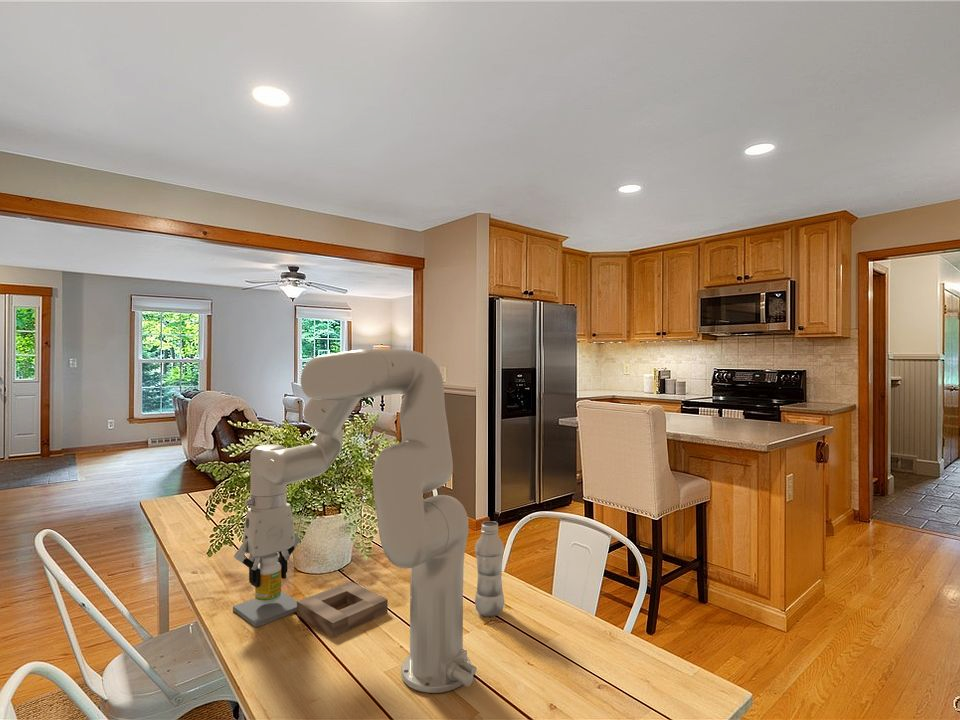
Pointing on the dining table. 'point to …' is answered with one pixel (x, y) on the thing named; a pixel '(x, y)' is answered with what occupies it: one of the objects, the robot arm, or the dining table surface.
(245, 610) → the grey pad
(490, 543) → the plastic bottle
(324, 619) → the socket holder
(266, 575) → the supplement bottle
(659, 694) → the dining table surface
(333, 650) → the dining table surface
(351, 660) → the dining table surface
